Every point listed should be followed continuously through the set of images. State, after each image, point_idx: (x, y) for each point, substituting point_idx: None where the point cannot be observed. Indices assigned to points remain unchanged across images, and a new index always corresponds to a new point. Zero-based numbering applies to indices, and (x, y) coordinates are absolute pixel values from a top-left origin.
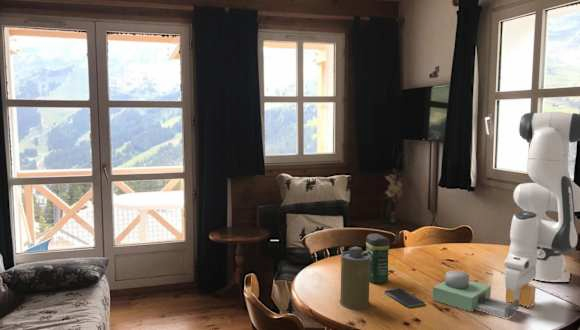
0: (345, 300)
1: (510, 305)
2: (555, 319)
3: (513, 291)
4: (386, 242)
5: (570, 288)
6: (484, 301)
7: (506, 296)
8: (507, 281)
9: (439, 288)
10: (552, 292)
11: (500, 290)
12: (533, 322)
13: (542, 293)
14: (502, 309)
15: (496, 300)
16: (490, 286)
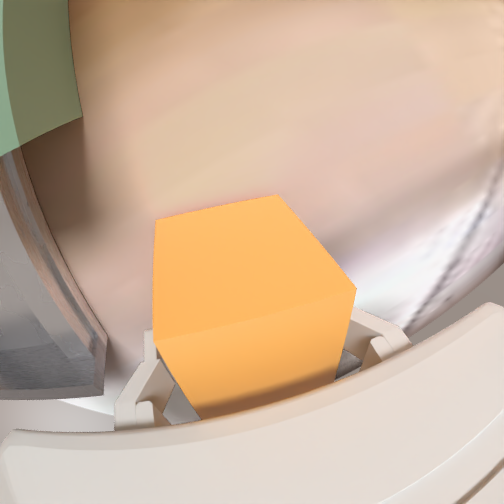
0: None
1: (5, 395)
2: (189, 410)
3: (128, 385)
4: None
5: (497, 263)
6: None
7: (154, 250)
8: (5, 498)
9: None
10: (464, 259)
11: (375, 62)
12: (81, 399)
13: (446, 247)
14: (7, 314)
15: (8, 261)
16: (12, 149)
